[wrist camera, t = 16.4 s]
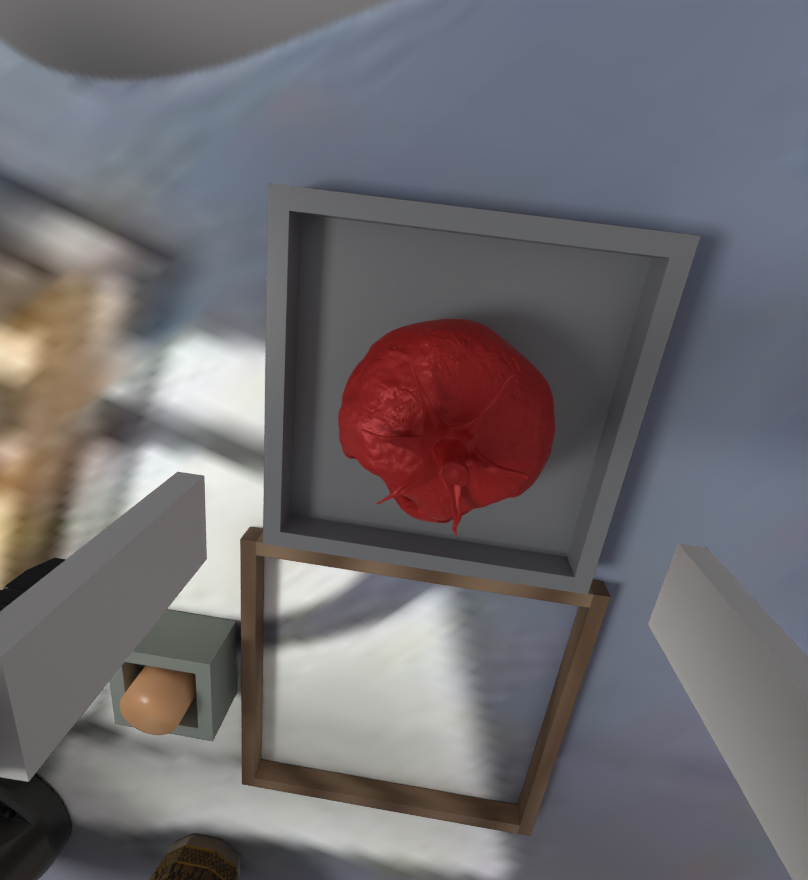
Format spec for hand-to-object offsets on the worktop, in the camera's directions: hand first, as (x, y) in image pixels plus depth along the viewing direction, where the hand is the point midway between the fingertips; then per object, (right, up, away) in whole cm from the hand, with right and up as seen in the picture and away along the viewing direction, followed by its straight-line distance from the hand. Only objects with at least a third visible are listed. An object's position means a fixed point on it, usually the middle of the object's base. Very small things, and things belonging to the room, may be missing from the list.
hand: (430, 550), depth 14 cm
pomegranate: (+2, +5, +13) cm, 14 cm away
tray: (+2, +5, +14) cm, 15 cm away
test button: (-17, -13, +21) cm, 30 cm away
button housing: (-17, -13, +23) cm, 31 cm away
